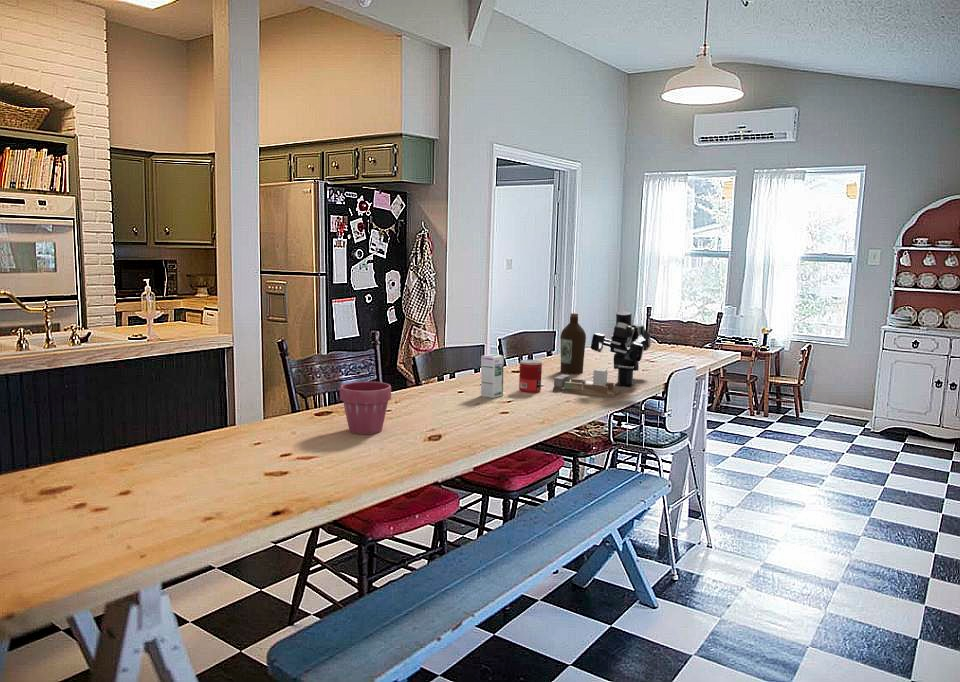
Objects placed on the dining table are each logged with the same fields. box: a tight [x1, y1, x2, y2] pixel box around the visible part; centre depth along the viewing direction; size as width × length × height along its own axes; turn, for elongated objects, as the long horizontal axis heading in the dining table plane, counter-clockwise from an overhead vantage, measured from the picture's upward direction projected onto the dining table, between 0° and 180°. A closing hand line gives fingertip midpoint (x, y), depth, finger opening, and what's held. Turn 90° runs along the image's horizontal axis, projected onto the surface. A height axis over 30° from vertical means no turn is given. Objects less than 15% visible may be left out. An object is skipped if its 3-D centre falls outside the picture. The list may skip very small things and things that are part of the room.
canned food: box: [518, 359, 543, 394], centre depth 262 cm, size 8×8×11 cm
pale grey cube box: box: [581, 368, 608, 386], centre depth 262 cm, size 7×8×7 cm
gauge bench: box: [552, 373, 620, 398], centre depth 264 cm, size 11×22×4 cm, turn 64°
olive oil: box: [559, 312, 587, 375], centre depth 303 cm, size 11×11×25 cm
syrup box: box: [480, 353, 504, 399], centre depth 250 cm, size 6×6×14 cm
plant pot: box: [339, 381, 392, 435], centre depth 200 cm, size 14×14×13 cm
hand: (611, 353), depth 254 cm, fingers open, 9 cm apart
